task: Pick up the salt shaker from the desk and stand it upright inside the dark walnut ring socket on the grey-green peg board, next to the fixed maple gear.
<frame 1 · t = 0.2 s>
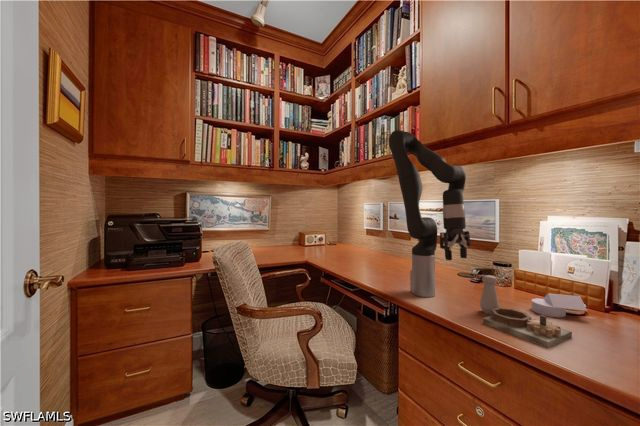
hand: (456, 259, 98), 18 cm above the table, tool pointing down, fingers open, 8 cm apart
wedge on round base: (555, 313, 90), on the table
peg board: (524, 329, 77), on the table
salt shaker: (489, 313, 90), on the table
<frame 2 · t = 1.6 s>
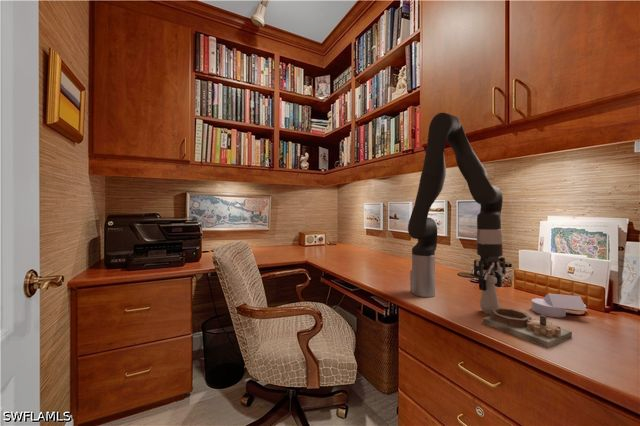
hand: (490, 288, 90), 9 cm above the table, tool pointing down, fingers open, 8 cm apart
nothing on the table moved.
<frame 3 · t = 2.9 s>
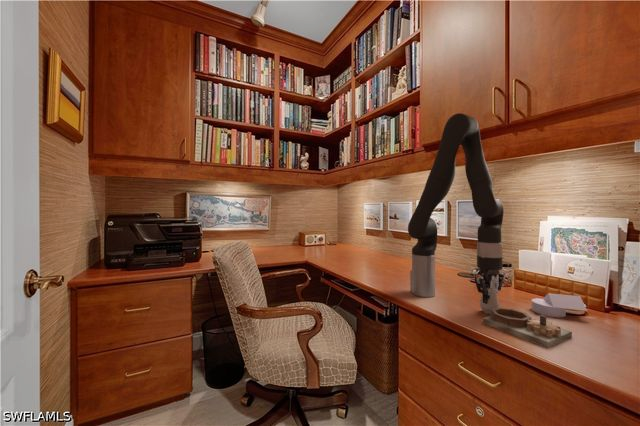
hand: (489, 303, 90), 3 cm above the table, tool pointing down, fingers closed on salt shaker, 3 cm apart
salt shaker: (489, 313, 90), on the table, touching gripper
everything else where it was.
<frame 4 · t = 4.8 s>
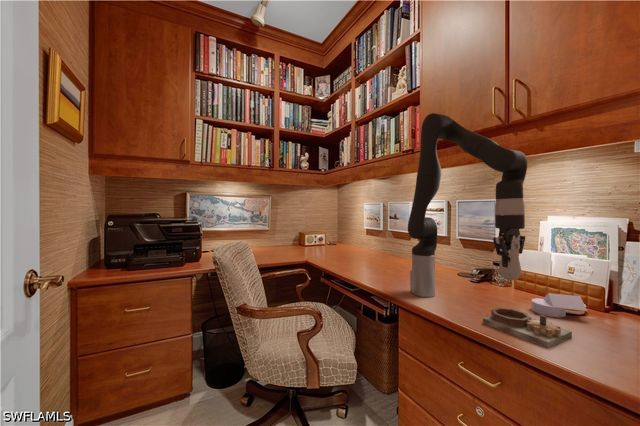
hand: (509, 268, 81), 18 cm above the table, tool pointing down, fingers closed on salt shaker, 3 cm apart
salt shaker: (510, 278, 81), point 14 cm above the table, touching gripper
everything else where it was.
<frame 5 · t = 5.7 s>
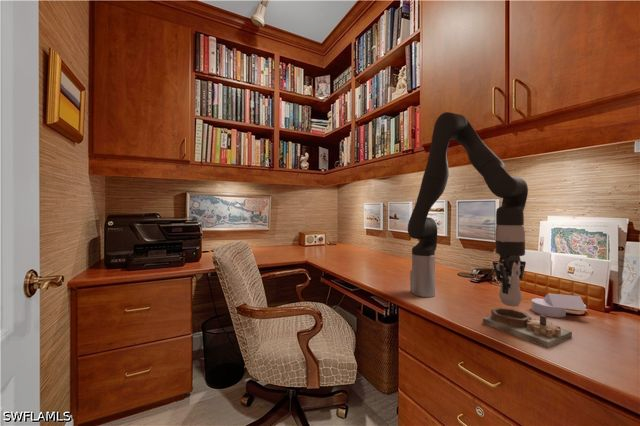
hand: (510, 294, 81), 10 cm above the table, tool pointing down, fingers closed on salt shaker, 3 cm apart
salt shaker: (510, 304, 81), point 6 cm above the table, touching gripper
everything else where it was.
when the fingers open (6 cm above the table, at t = 6.6 s): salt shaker drops 2 cm, resting on peg board.
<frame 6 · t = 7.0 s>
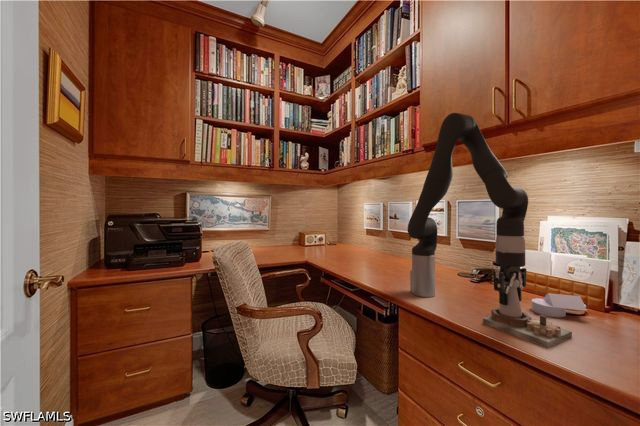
hand: (510, 302, 81), 7 cm above the table, tool pointing down, fingers open, 6 cm apart
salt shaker: (510, 320, 81), point 1 cm above the table, touching peg board
everything else where it was.
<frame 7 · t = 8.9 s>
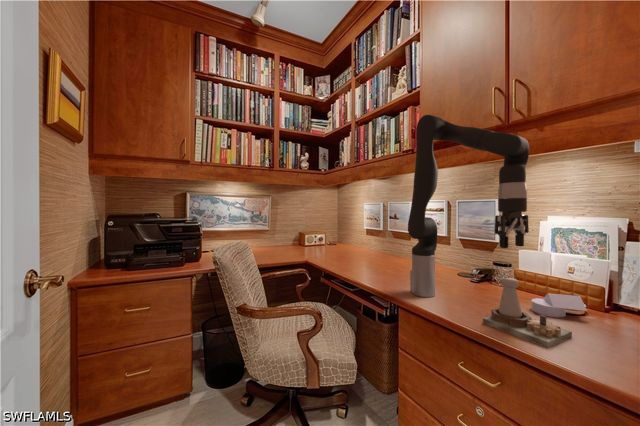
hand: (511, 247, 84), 24 cm above the table, tool pointing down, fingers open, 8 cm apart
nothing on the table moved.
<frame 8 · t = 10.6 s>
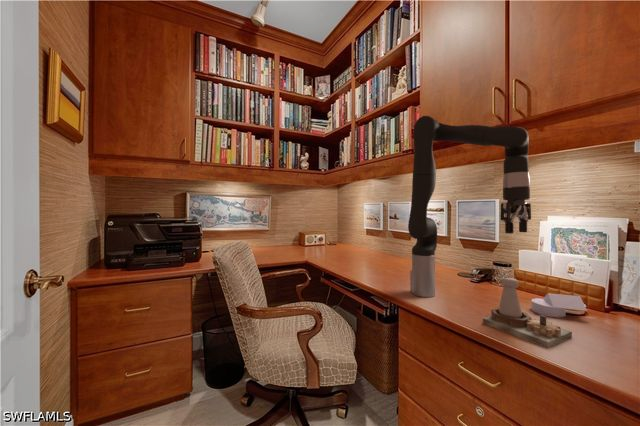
hand: (516, 232, 90), 28 cm above the table, tool pointing down, fingers open, 8 cm apart
nothing on the table moved.
at the end: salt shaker 0.1 cm from the target spot on the peg board, point 1.3 cm above the peg board's base; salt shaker tilted 0°; the gripper is holding nothing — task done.
